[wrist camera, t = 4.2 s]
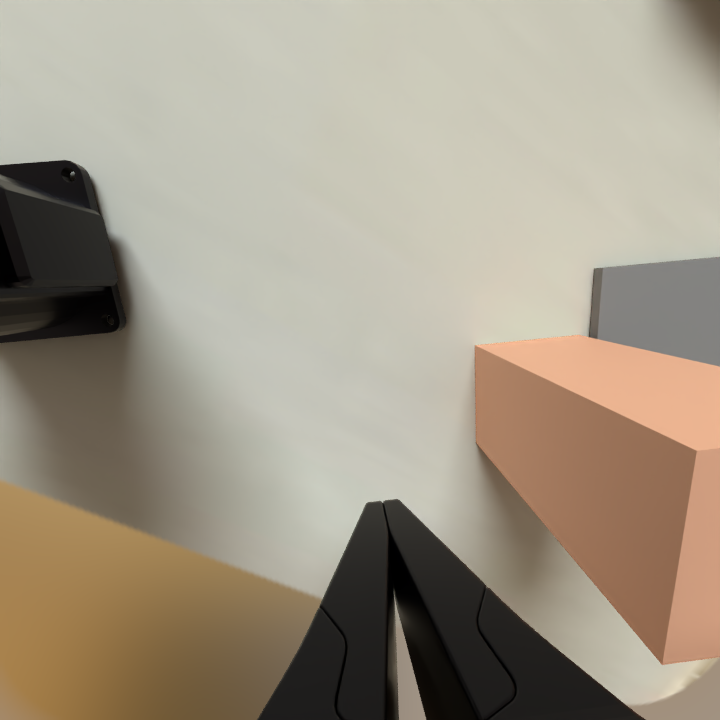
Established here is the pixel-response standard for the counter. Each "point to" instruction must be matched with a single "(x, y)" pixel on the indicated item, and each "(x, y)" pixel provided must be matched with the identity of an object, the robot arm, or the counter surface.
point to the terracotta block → (617, 473)
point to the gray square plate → (660, 308)
